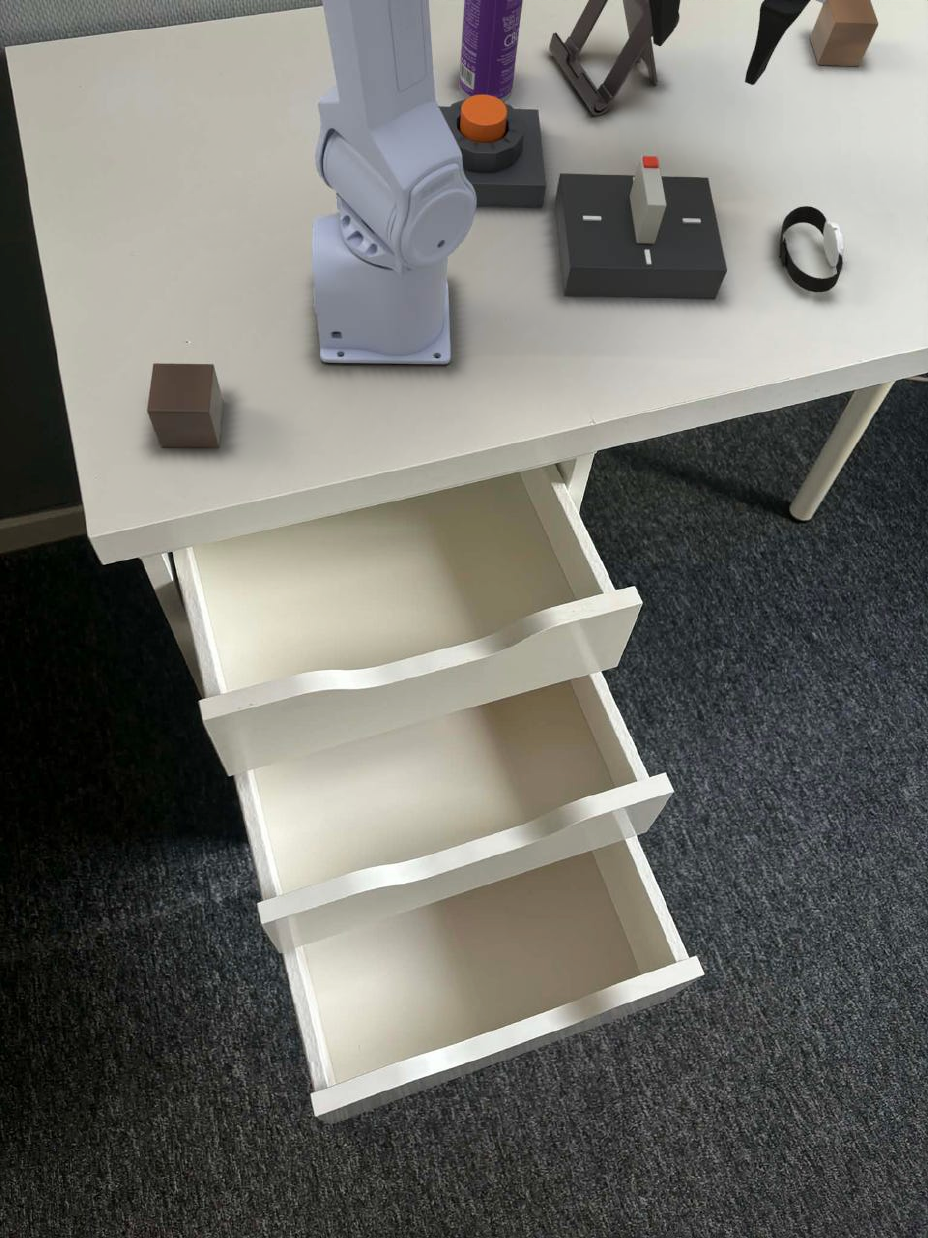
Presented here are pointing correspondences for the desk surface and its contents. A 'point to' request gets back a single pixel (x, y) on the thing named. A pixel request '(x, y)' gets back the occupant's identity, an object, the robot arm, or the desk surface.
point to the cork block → (843, 32)
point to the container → (489, 47)
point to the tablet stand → (632, 52)
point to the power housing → (504, 160)
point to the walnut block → (185, 405)
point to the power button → (483, 118)
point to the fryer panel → (610, 255)
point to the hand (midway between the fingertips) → (708, 55)
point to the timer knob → (647, 200)
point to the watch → (831, 245)
